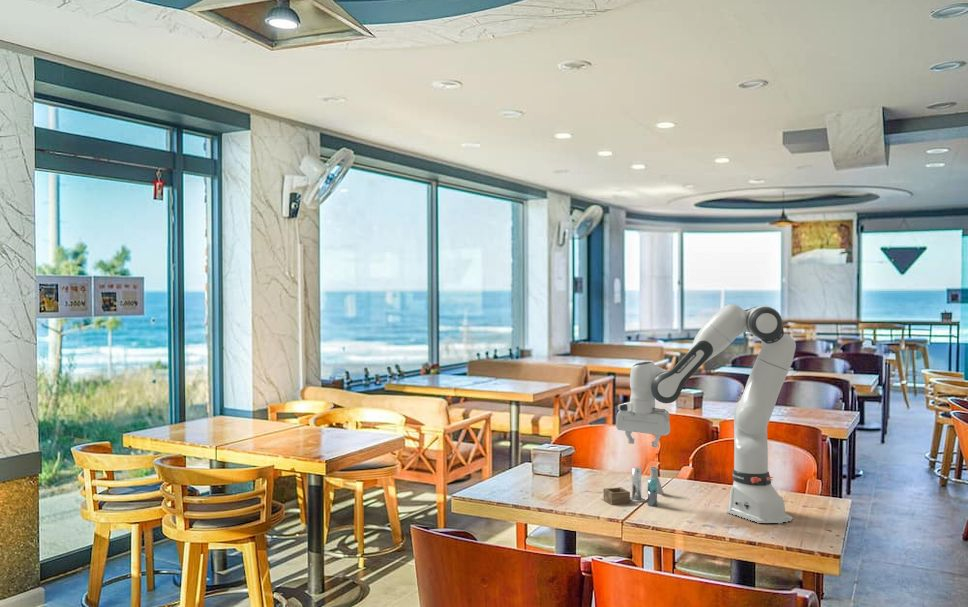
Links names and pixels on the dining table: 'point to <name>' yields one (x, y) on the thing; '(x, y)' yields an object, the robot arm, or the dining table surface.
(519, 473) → the dining table surface
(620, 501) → the box
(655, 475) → the flask
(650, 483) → the small bottle
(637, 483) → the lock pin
